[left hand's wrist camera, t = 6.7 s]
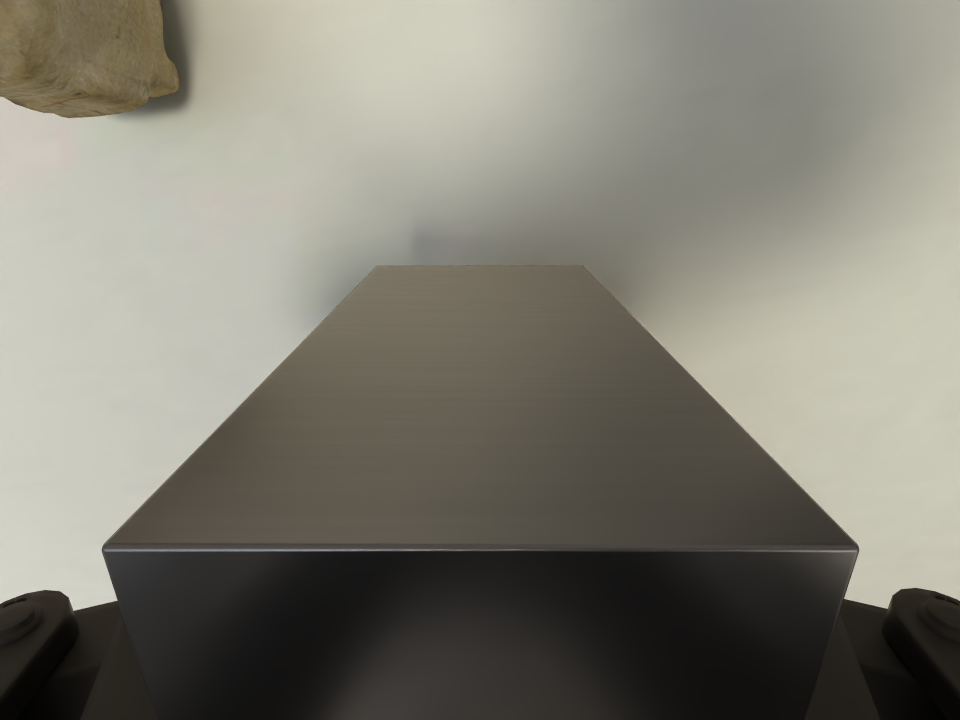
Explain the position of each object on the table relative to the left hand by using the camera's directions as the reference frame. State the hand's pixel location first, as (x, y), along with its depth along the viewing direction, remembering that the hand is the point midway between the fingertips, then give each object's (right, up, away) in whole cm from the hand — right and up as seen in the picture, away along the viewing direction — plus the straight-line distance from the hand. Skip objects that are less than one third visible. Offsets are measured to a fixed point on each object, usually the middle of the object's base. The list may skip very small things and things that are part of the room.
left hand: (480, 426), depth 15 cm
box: (0, -8, +6) cm, 10 cm away
